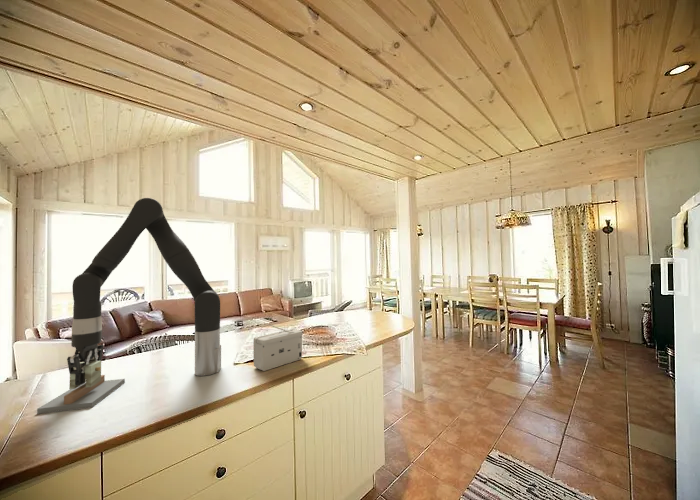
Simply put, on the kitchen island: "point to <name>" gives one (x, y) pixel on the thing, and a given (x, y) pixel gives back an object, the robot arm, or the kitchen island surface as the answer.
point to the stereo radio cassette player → (277, 348)
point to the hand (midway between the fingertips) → (86, 380)
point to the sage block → (88, 375)
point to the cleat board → (82, 396)
